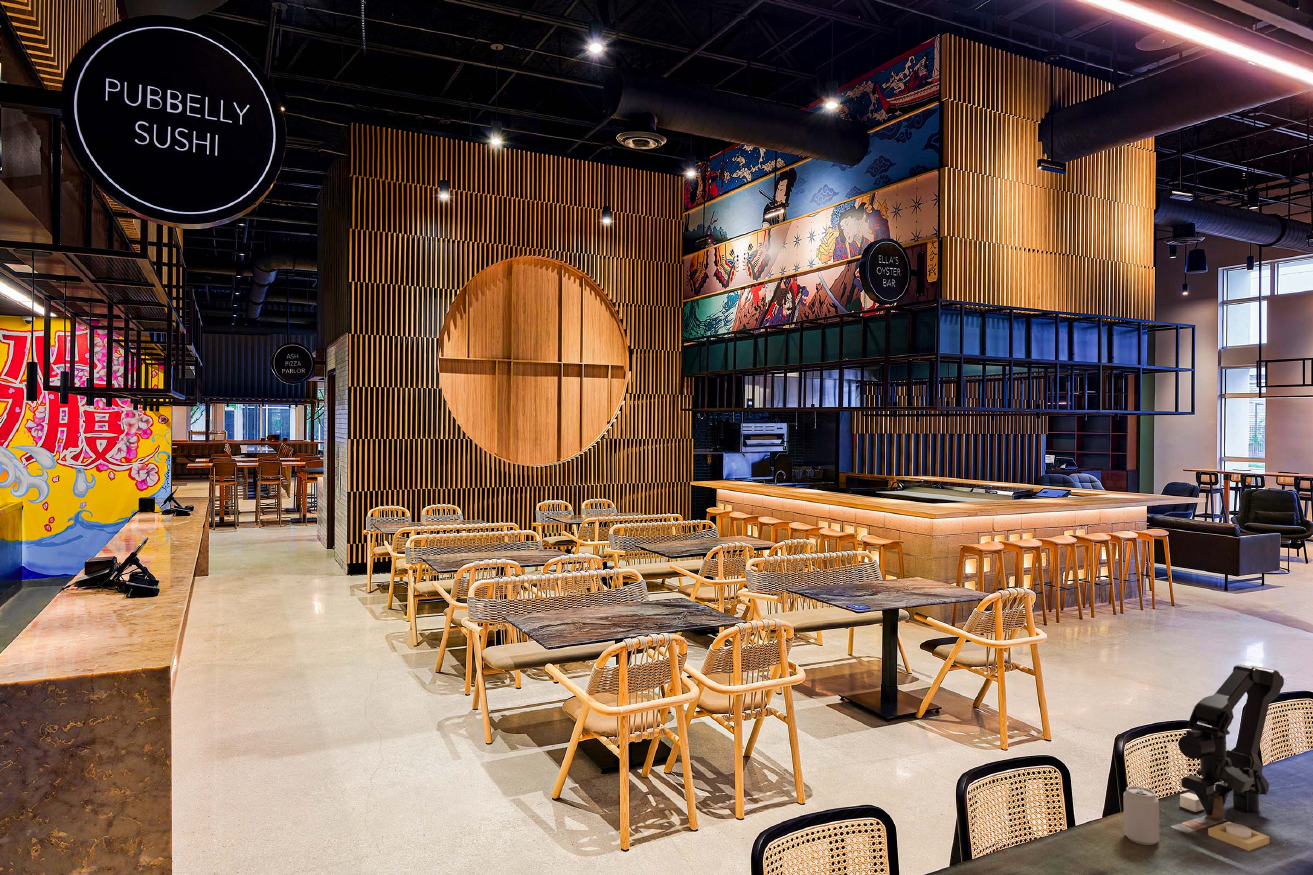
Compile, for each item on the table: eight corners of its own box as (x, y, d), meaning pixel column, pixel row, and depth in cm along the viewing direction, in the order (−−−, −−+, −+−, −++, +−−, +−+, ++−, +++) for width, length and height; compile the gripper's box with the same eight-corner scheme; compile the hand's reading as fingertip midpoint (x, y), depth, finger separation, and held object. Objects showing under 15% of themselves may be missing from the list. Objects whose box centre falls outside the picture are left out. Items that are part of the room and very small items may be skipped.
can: (1124, 841, 196) (1124, 792, 197) (1123, 829, 203) (1122, 781, 203) (1160, 848, 193) (1159, 798, 193) (1158, 836, 199) (1157, 787, 200)
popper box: (1229, 831, 202) (1229, 821, 202) (1269, 846, 194) (1269, 836, 194) (1208, 838, 198) (1208, 828, 198) (1248, 854, 190) (1248, 843, 190)
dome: (1233, 833, 200) (1233, 821, 200) (1255, 842, 195) (1255, 829, 195) (1221, 837, 197) (1221, 825, 198) (1244, 846, 193) (1243, 833, 193)
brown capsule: (1210, 811, 211) (1210, 792, 211) (1227, 817, 207) (1226, 797, 207) (1201, 814, 209) (1200, 794, 209) (1217, 819, 205) (1216, 800, 206)
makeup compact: (1205, 814, 212) (1205, 811, 212) (1234, 825, 206) (1233, 821, 206) (1163, 827, 204) (1163, 824, 204) (1192, 839, 198) (1192, 835, 198)
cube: (1189, 807, 217) (1188, 792, 217) (1204, 812, 214) (1204, 797, 214) (1180, 809, 216) (1179, 794, 216) (1195, 815, 212) (1195, 800, 212)
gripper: (1225, 768, 197) (1227, 832, 197) (1267, 757, 206) (1269, 818, 205) (1179, 754, 207) (1180, 815, 207) (1221, 743, 216) (1222, 802, 215)
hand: (1214, 813), depth 208 cm, fingers closed on brown capsule, 4 cm apart
